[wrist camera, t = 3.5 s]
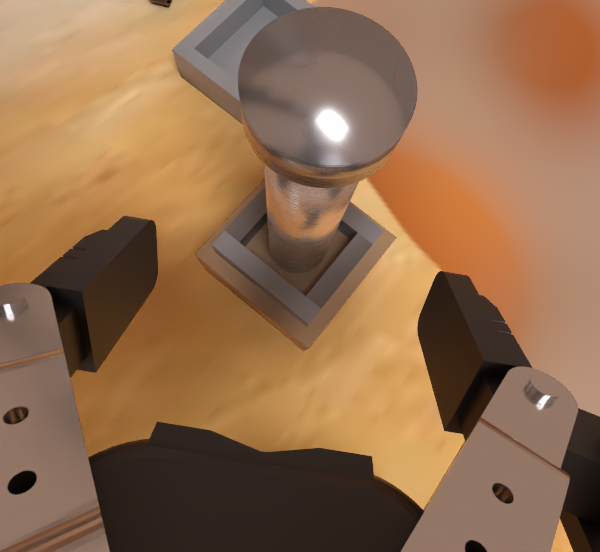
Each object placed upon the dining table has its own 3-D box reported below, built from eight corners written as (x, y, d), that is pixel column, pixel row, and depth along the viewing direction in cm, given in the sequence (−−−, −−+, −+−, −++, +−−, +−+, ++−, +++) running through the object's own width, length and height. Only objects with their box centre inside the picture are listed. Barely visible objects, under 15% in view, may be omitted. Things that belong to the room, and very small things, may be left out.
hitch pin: (244, 250, 22) (199, 88, 9) (292, 196, 23) (314, -23, 10) (303, 298, 21) (345, 201, 9) (350, 241, 22) (451, 76, 9)
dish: (180, 76, 28) (172, 49, 26) (262, -1, 30) (260, -33, 28) (288, 159, 28) (290, 139, 25) (365, 75, 29) (373, 49, 27)
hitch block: (207, 270, 26) (188, 246, 20) (286, 183, 27) (288, 139, 22) (303, 350, 25) (311, 347, 19) (378, 256, 26) (404, 228, 21)
